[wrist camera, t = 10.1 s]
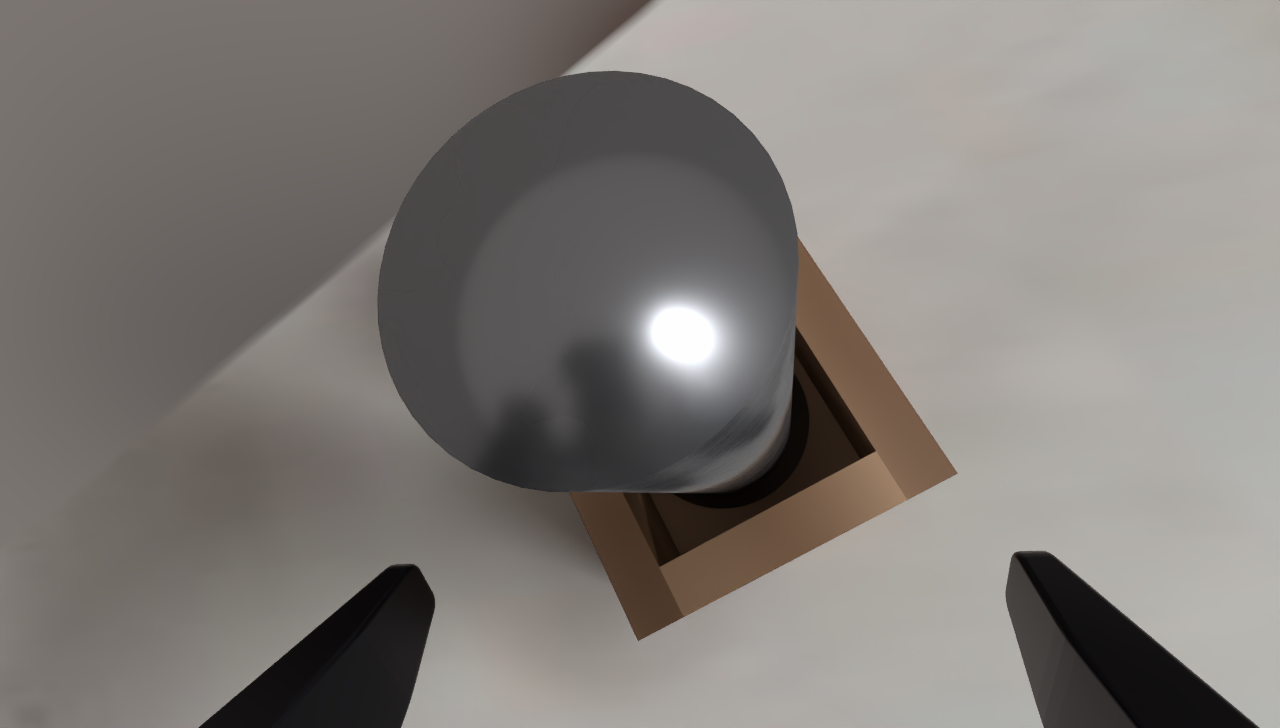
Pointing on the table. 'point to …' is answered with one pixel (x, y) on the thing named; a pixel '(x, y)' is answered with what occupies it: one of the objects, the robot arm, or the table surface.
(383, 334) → the pin
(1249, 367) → the table surface
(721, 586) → the socket block
